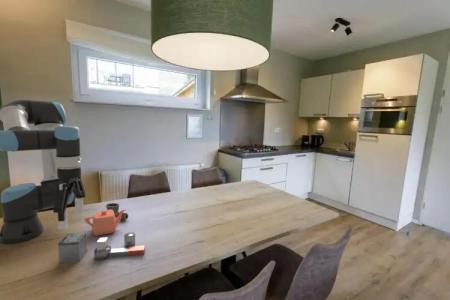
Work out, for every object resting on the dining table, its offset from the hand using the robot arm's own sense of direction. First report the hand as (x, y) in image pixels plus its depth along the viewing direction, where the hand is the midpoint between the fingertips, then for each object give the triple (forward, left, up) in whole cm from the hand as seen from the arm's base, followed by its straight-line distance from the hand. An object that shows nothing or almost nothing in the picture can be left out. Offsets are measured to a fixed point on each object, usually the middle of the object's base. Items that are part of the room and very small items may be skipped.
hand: (72, 220), depth 87 cm
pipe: (+7, +34, -16) cm, 38 cm away
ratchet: (+17, -1, -15) cm, 23 cm away
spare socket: (+20, +6, -15) cm, 26 cm away
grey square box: (0, 0, -15) cm, 15 cm away
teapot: (+6, +21, -16) cm, 27 cm away
